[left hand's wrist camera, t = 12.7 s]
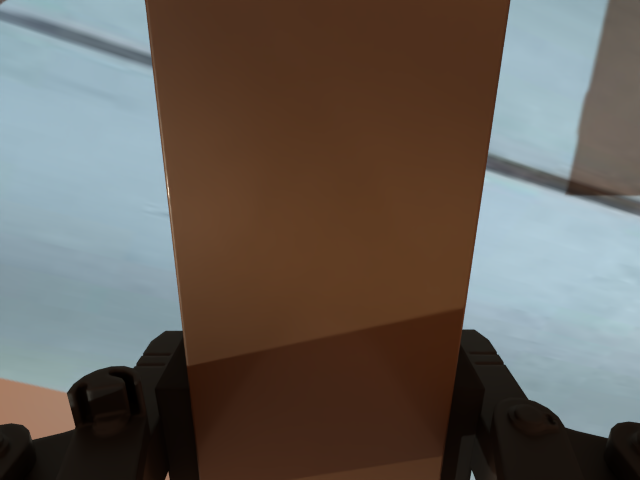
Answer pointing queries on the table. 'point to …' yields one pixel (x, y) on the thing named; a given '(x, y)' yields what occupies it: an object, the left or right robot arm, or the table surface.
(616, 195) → the table surface
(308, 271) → the bar
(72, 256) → the table surface
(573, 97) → the table surface
